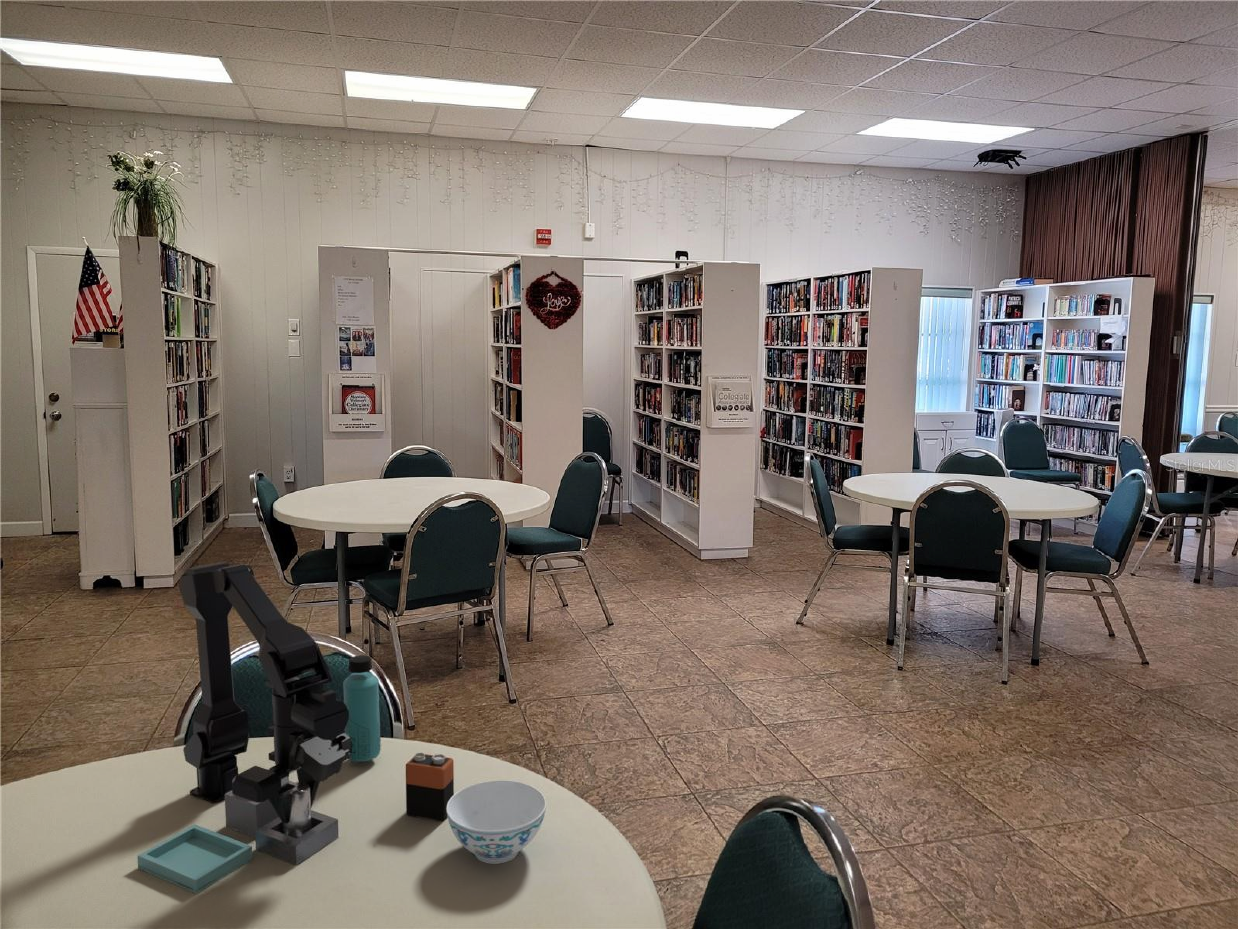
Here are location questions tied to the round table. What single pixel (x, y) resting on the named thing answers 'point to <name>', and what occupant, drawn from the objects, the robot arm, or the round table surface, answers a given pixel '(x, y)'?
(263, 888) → the round table surface
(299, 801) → the shiny silver cylinder
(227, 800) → the block
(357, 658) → the beverage bottle
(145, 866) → the tray
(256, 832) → the socket
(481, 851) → the chinaware
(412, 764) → the battery
